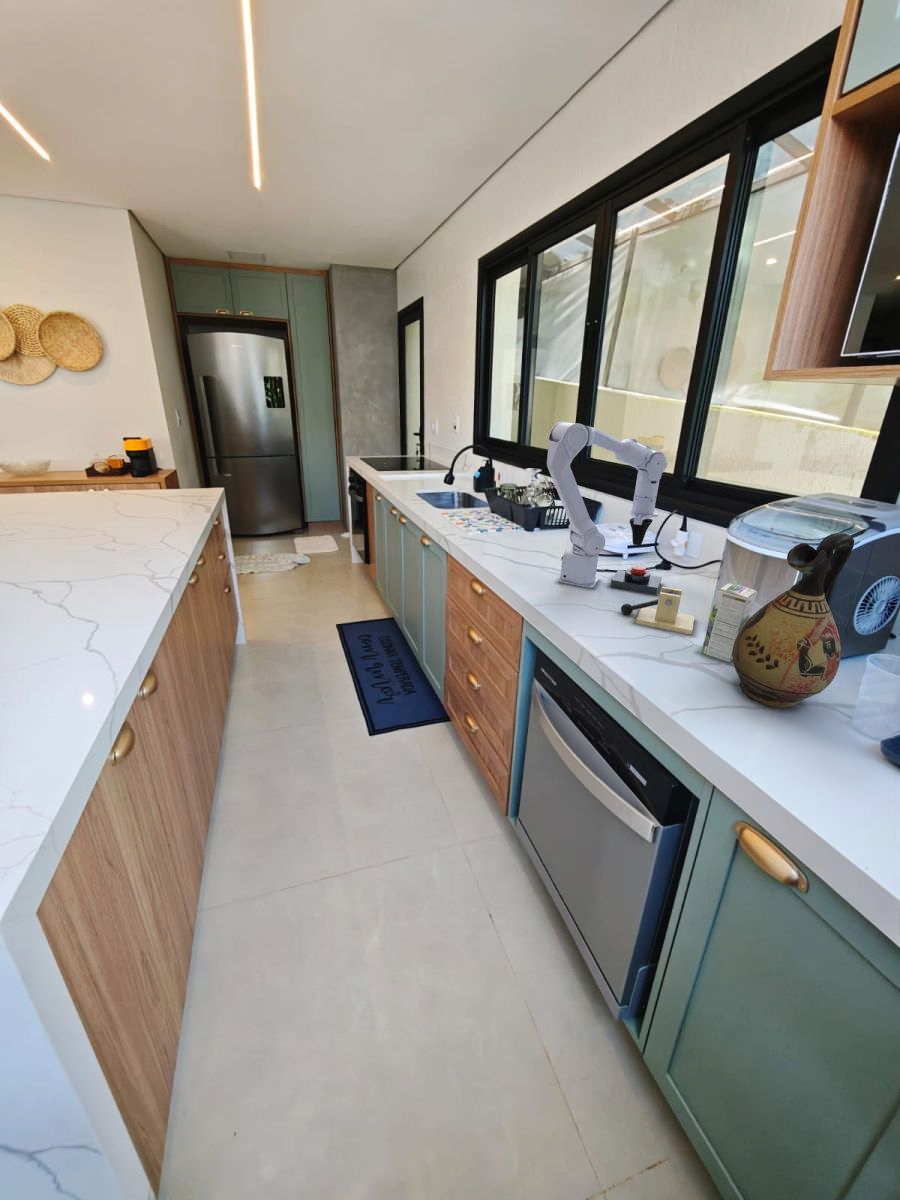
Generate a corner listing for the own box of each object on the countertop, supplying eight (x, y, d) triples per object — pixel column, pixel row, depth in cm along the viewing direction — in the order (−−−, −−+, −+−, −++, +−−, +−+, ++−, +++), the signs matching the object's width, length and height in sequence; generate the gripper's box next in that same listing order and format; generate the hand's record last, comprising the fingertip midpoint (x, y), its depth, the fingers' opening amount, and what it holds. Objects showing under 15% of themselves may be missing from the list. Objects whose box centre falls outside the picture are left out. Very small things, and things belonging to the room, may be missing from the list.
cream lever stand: (635, 623, 118) (640, 592, 115) (641, 610, 125) (646, 581, 122) (691, 635, 112) (698, 603, 110) (693, 620, 120) (700, 590, 117)
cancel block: (610, 587, 139) (612, 573, 138) (617, 576, 148) (619, 563, 146) (656, 595, 134) (658, 581, 133) (660, 584, 143) (663, 570, 141)
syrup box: (710, 644, 108) (726, 581, 103) (740, 654, 105) (758, 589, 99) (700, 653, 105) (716, 588, 99) (730, 663, 101) (748, 597, 95)
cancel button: (629, 574, 139) (630, 568, 138) (632, 570, 142) (633, 564, 141) (643, 576, 137) (644, 570, 137) (645, 572, 140) (646, 566, 140)
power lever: (622, 617, 122) (618, 607, 121) (624, 613, 124) (620, 603, 124) (677, 604, 115) (673, 593, 114) (678, 600, 117) (674, 589, 117)
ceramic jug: (783, 729, 81) (843, 551, 70) (705, 681, 94) (744, 525, 83) (848, 706, 88) (913, 540, 76) (766, 665, 101) (811, 517, 89)
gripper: (657, 502, 129) (648, 553, 134) (663, 493, 141) (655, 540, 146) (629, 499, 132) (621, 549, 137) (637, 491, 144) (630, 537, 149)
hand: (637, 544), depth 142 cm, fingers closed
